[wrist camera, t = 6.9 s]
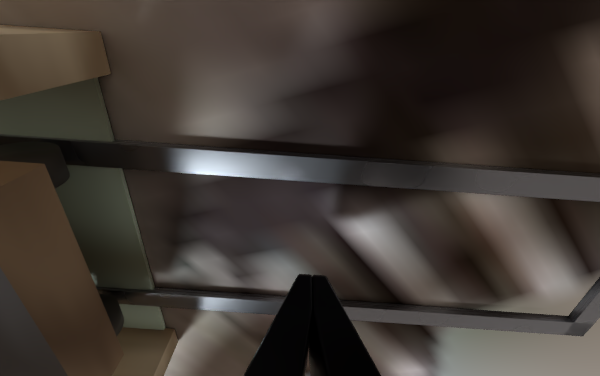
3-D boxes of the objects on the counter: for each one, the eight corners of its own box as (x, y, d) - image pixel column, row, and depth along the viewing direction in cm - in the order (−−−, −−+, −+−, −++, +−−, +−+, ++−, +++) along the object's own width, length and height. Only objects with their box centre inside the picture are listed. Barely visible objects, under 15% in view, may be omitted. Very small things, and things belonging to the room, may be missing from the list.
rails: (577, 329, 12) (582, 336, 12) (-90, 283, 12) (-99, 288, 12) (705, 181, 9) (717, 185, 8) (-236, 115, 9) (-253, 118, 8)
